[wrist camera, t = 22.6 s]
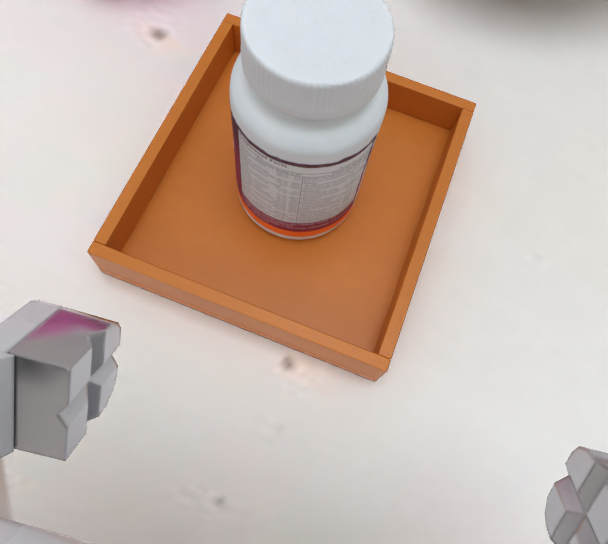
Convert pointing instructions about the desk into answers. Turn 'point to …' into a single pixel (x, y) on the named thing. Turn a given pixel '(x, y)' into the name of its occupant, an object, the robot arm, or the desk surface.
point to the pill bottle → (307, 108)
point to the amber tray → (277, 250)
